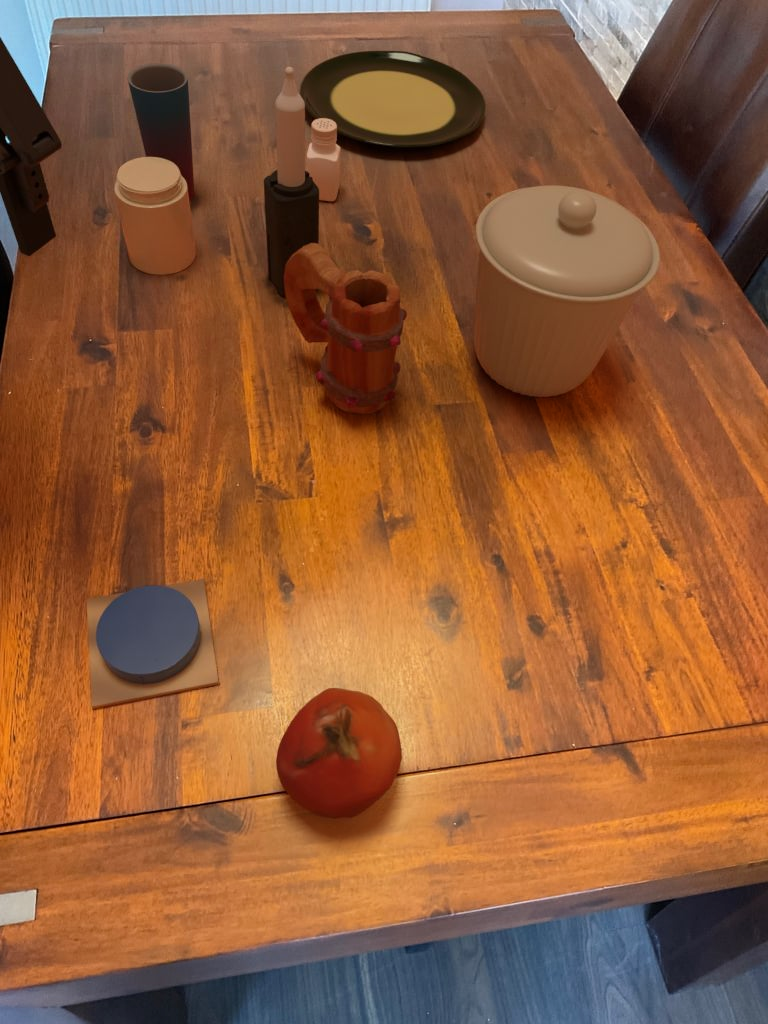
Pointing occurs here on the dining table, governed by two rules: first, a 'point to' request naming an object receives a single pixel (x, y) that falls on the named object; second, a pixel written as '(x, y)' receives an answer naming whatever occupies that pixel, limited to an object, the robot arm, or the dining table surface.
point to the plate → (393, 98)
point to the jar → (155, 215)
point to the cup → (164, 115)
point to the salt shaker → (324, 158)
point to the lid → (148, 634)
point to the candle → (289, 187)
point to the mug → (348, 327)
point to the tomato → (339, 754)
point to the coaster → (194, 676)
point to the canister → (555, 284)
